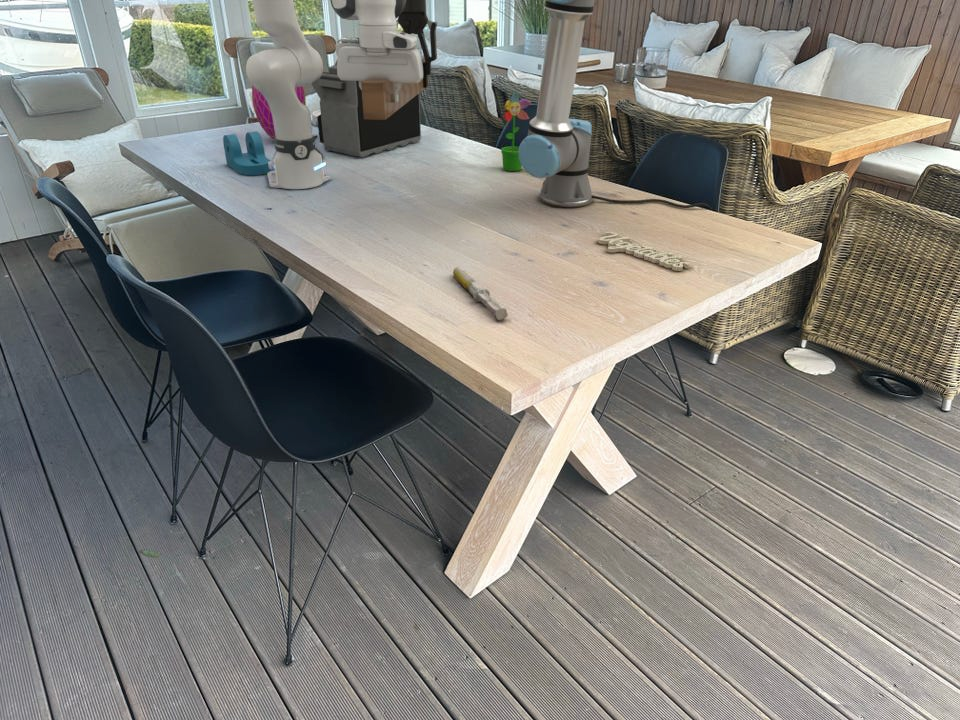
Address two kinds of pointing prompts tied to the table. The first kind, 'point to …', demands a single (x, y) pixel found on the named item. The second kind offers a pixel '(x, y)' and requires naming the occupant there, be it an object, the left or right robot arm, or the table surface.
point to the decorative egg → (264, 109)
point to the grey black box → (360, 119)
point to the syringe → (479, 293)
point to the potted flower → (511, 152)
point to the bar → (386, 96)
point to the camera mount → (246, 154)
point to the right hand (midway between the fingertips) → (415, 86)
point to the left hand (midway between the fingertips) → (381, 101)
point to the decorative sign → (642, 251)
